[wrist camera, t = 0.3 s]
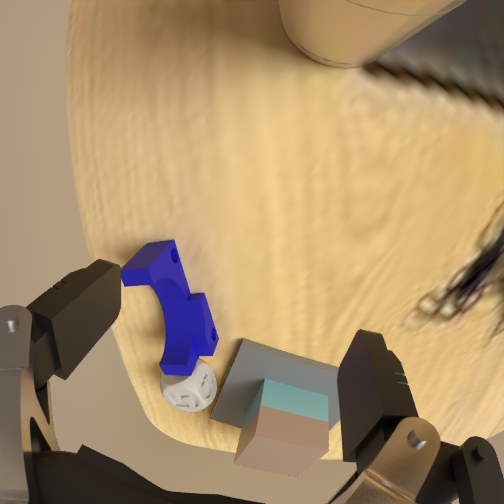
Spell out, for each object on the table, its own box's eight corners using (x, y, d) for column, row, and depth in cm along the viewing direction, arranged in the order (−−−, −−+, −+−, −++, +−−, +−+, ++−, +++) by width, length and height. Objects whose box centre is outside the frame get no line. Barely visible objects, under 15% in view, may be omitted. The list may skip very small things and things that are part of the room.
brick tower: (243, 338, 33) (225, 402, 24) (372, 376, 33) (382, 437, 24) (211, 412, 40) (195, 464, 31) (314, 440, 40) (311, 490, 31)
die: (168, 358, 36) (154, 386, 31) (202, 353, 35) (190, 383, 30) (187, 384, 38) (176, 413, 33) (220, 381, 36) (211, 411, 32)
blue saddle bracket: (219, 337, 33) (205, 376, 28) (182, 338, 34) (164, 374, 29) (188, 236, 29) (164, 266, 23) (148, 242, 30) (118, 270, 24)
